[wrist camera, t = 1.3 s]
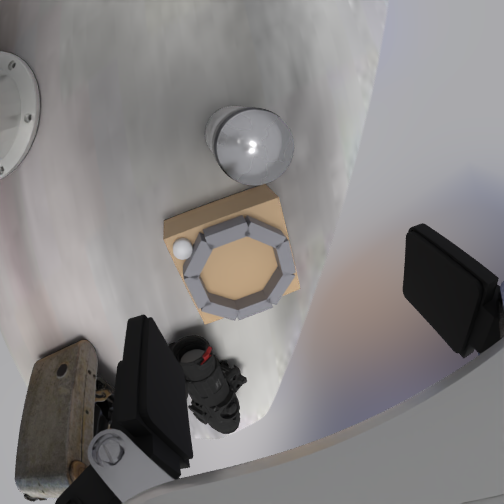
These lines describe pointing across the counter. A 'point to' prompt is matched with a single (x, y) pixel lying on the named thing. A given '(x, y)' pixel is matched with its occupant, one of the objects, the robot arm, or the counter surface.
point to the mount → (233, 254)
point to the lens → (250, 143)
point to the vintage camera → (61, 421)
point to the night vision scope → (209, 384)
